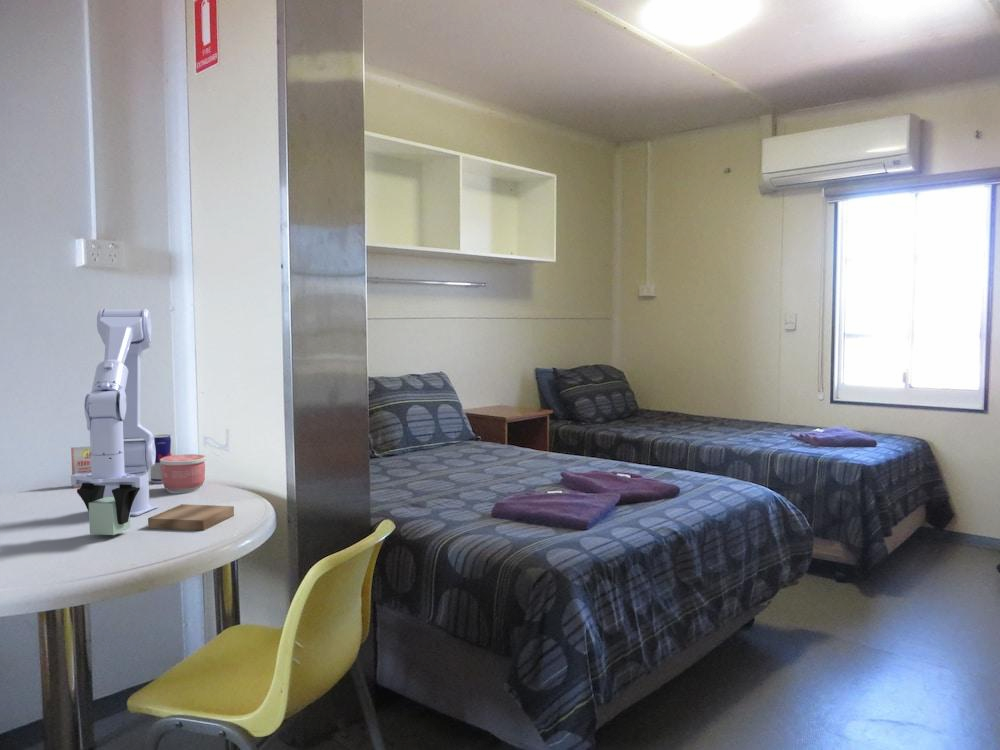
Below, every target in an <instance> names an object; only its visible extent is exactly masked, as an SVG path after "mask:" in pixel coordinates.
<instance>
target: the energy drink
mask: <svg viewBox="0 0 1000 750" xmlns="http://www.w3.org/2000/svg"><path fill="white" fill-rule="evenodd" d="M153 436H154V443H155V449H156V459H155V464H154V466H153V467H152V468H150V469H149V470H150V483H152V484H155V485H156V484H158V485H159V484H162V485H163V483H162V472H161V466H162V464H160V459H161V458H164V457H168V456H174V455H173V453H174V452H173V449H174V448H173V437H172V434H153Z"/></svg>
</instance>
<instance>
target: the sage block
mask: <svg viewBox="0 0 1000 750" xmlns="http://www.w3.org/2000/svg"><path fill="white" fill-rule="evenodd" d="M88 519H89V534H90V535H104V536H115V535H117V534H120V533H122V532H124V531H127V530H129V529H131V515H130V514H129V519H128V522H127V523H124V524H118V520H117V508H116V503H115V499H114V497H104V498H102V499H99V500H96V501H93V502H90V503H89V512H88Z"/></svg>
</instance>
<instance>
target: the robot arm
mask: <svg viewBox="0 0 1000 750" xmlns="http://www.w3.org/2000/svg"><path fill="white" fill-rule="evenodd" d="M151 316H152V315H151V312H150V311H149V310H148V308H140V309H138V308H136V309H135V308H134V309H133V308H128V309H127V308H115V309H114V308H109V309H108V308H100V310H98V312H97V317H96V327H97V333H98V335H99V337H100V339H101V341H102V343H103V344H104V358H103V361H101V362H99V363H98V364H97V366H96V369H95V373H94V378H93V383H92V387H91V392H90V393H87V394H86V395H85V398H84V403H83V404H84V406H83V407H84V415H85V418H86V429H87V430H88V431H89V443H90V444H89V446H90V451H91V473H87V474H74V475H72V474H71V476H70V482H71V483H70V485H71V486H73V485H82V486H81V488H76V493H77V495H78V496H79V497H80V498H81V500H82V501H83V503H84V505H85V508H86V509H87V512H88V513H89V503H90V502H93V501H96V500H99V499H102V498H104V497H114V499H115V503H116V508H117V520H118V524H124V523H127V522H128V519H129V514H130V516H139V515H142V514H145V513H147V512H149V511H152V510H155V509H157V508H159V504H150V487H149V486H150V481H149V470H151V469H150V468H152V467H153V466H154V464H155V459H156V449H155V443H154V436H153V435H154V433H153V432H152V431H151V430H149V429H147V428H145V427H144V426H143V425H142V424H141V413H142V412H141V403H142V402H141V399H142V397H141V392H142V391H141V389H142V388H141V386H142V385H141V383H142V382H141V376H142V375H141V369H142V365H141V364H142V356H143V351H145V350H146V349H149V348H150V347H151V343H152V317H151ZM135 439H141V440H135Z"/></svg>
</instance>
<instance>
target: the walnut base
mask: <svg viewBox="0 0 1000 750" xmlns="http://www.w3.org/2000/svg"><path fill="white" fill-rule="evenodd" d="M234 516H235V506H234V505H213V504H211V505H210V504H209V505H208V504H207V505H206V504H186V503H185V504H182V503H181V504H179V505H177V506H174V507H172V508H170V509H168V510H165V511H162V512H160V513H158V514H155V515H153V516H150V517H148V518H147V524H148V525H147V528H148V529H161V530H163V529H164V530H184V531H185V530H187V531H202V532H203V531H206V530H208V529H210V528H212V527H213V526H216V525H217V524H219V523H222V522H224V521H226V520H229V519H230V518H231V517H234Z"/></svg>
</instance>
